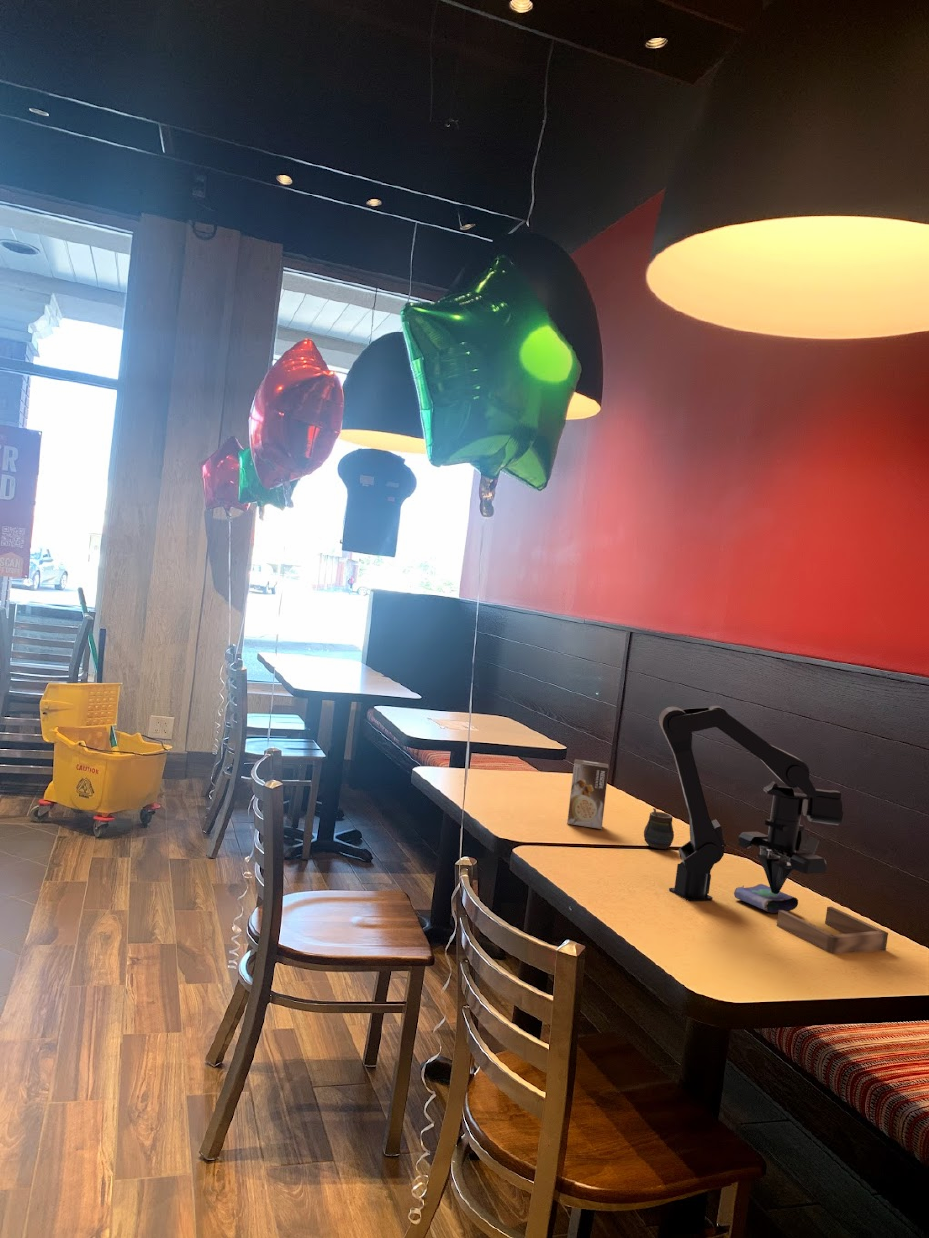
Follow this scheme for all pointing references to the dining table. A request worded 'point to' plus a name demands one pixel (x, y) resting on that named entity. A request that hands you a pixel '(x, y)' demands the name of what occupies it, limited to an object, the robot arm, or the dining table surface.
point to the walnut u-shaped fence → (854, 939)
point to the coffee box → (588, 794)
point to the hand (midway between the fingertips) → (775, 893)
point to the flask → (766, 898)
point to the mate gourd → (659, 830)
